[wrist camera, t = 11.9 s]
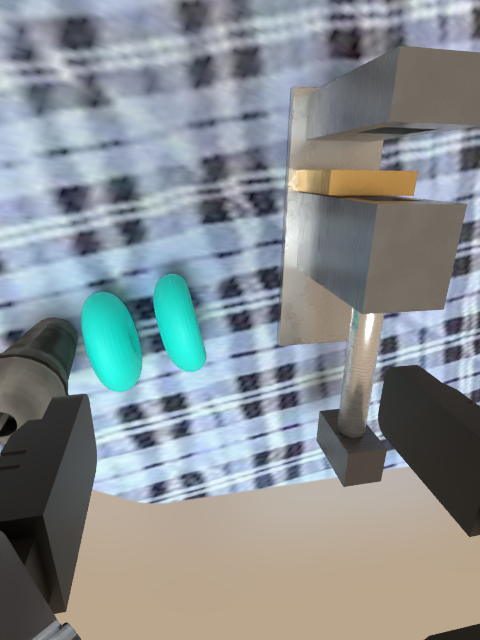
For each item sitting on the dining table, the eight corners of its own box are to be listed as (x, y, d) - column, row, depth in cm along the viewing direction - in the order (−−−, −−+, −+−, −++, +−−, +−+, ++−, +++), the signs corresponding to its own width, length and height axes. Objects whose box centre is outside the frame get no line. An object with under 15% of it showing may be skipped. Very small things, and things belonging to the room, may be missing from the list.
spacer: (298, 170, 38) (331, 169, 31) (370, 171, 40) (417, 171, 33) (297, 190, 39) (328, 195, 32) (368, 191, 41) (413, 195, 33)
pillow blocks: (290, 88, 36) (378, 33, 22) (384, 94, 38) (522, 46, 24) (276, 342, 46) (330, 421, 32) (352, 336, 48) (436, 409, 34)
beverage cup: (105, 332, 42) (63, 458, 23) (64, 378, 43) (-7, 533, 24) (45, 291, 39) (-55, 398, 21) (3, 341, 40) (-129, 485, 22)
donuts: (87, 284, 39) (66, 318, 30) (180, 260, 40) (186, 286, 31) (119, 365, 43) (108, 416, 34) (203, 341, 44) (214, 385, 35)
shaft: (341, 210, 34) (383, 219, 28) (381, 210, 35) (431, 219, 28) (316, 440, 43) (343, 486, 37) (348, 436, 44) (380, 481, 38)
